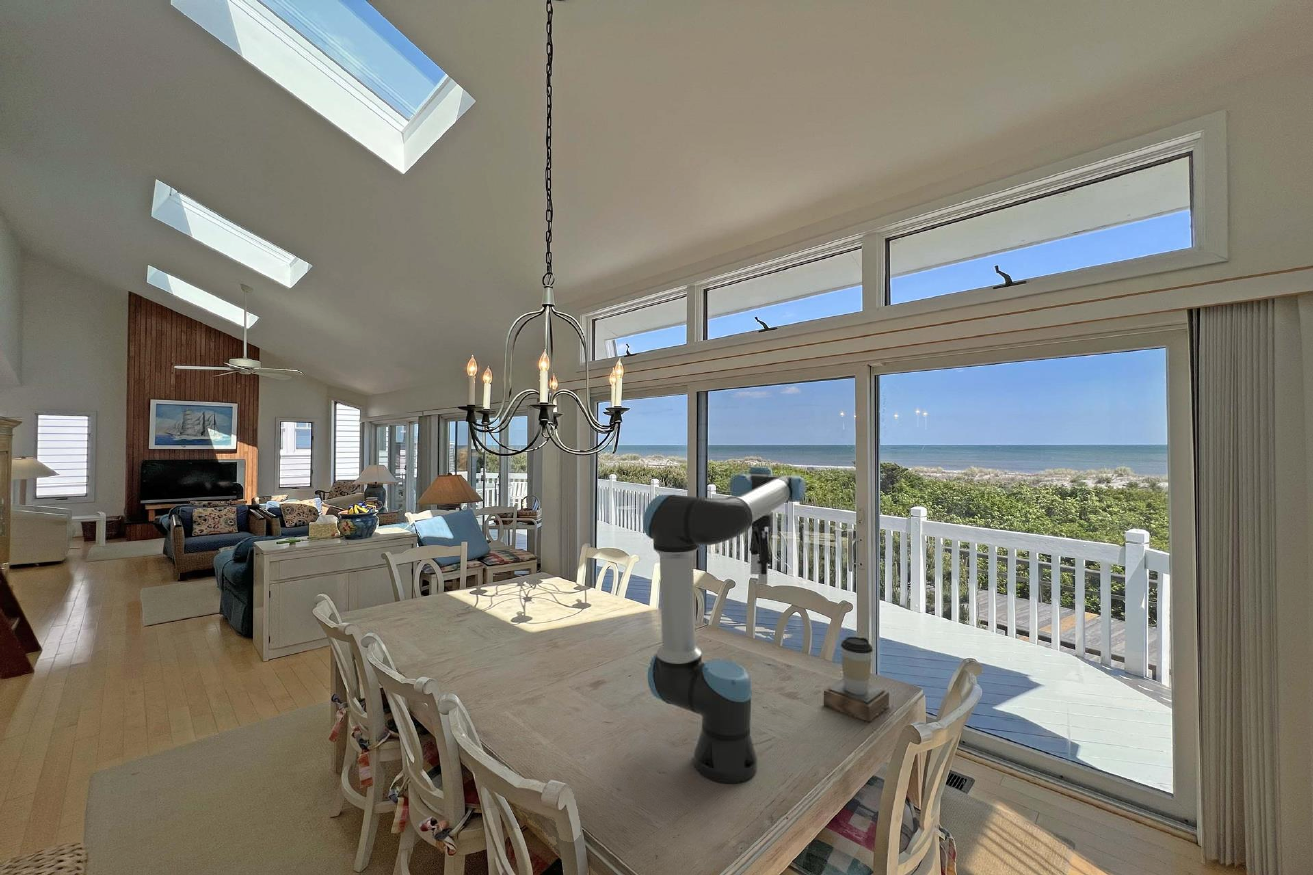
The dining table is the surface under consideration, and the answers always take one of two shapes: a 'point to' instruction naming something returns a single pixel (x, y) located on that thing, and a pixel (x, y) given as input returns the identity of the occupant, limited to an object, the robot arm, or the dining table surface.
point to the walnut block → (856, 700)
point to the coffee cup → (856, 664)
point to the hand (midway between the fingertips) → (758, 578)
